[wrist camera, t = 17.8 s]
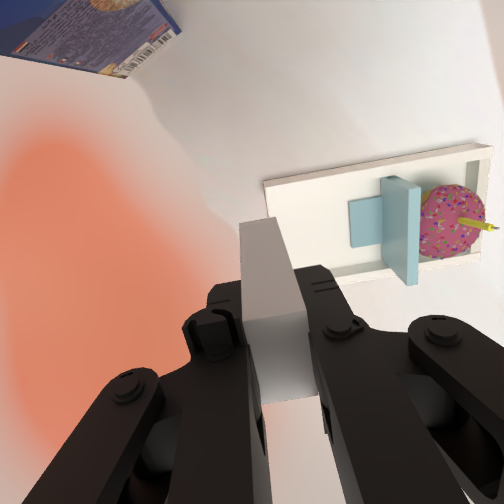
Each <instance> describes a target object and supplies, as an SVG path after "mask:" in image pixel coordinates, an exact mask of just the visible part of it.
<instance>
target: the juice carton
mask: <svg viewBox="0 0 504 504" xmlns="http://www.w3.org/2000/svg"><path fill="white" fill-rule="evenodd" d="M181 32H182V31H181V30H180V28H179V27H178V25H177V24H176V22H175V21H174V19H173V18H172V16H171V15H170V13H169V12H168V10H167V9H166V7H165V5H164V4H163V2H162V1H161V0H0V55H2V56H7V57H13V58H18V59H24V60H28V61H34V62H39V63H44V64H50V65H55V66H60V67H66V68H71V69H76V70H82V71H86V72H92V73H97V74H102V75H108V76H113V77H118V78H124V79H125V78H127V77H128V76H129V75H130V74H131V73H133V72H134V71H135V70H136V69H137V68H139V67H140V66H141V65H142V64H143V63H145V62H146V61H147V60H148V59H149V58H151V57H152V56H153V55H154V54H155V53H157V52H158V51H159V50H160V49H161V48H163V47H164V46H165V45H166V44H167V43H169V42H170V41H171V40H172V39H173V38H175V37H176V36H177V35H178V34H179V33H181Z"/></svg>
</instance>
